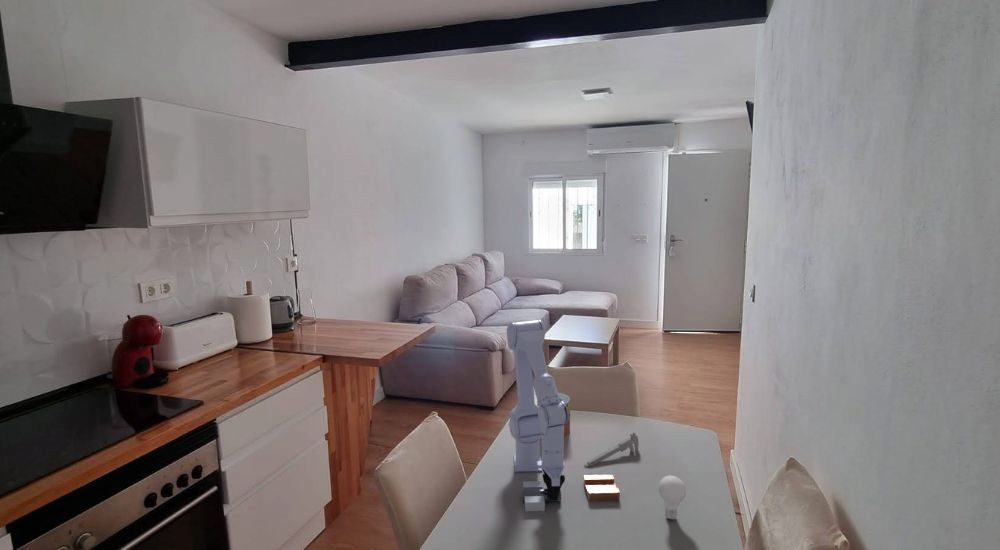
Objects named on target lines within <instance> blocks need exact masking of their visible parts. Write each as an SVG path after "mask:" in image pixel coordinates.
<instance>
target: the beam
mask: <svg viewBox="0 0 1000 550" xmlns="http://www.w3.org/2000/svg"><path fill="white" fill-rule="evenodd" d="M522 483H523V484H522V485H523V486H522V487H523V489H543V482H542V481H541V480H539V481H538V480H537V481H534V480H533V481H523V482H522ZM545 507H546V501H545V500H544V496H525V502H524V511H525V512H545V511H546V508H545Z"/></svg>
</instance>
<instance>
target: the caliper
mask: <svg viewBox="0 0 1000 550" xmlns="http://www.w3.org/2000/svg"><path fill="white" fill-rule="evenodd" d="M629 436H630V437H627V438H626V439H623V440H622V441H620V442H619V443H618V444H617V445H616V446H614V447H611V448H610V449H608V450H606V451H604V452H603V453H601V454H598V455H596V456H594V457H593V458H591V459H589V460H588V461H586V463H585V464H584V465H583V467H584V468H589V467H593V466H594V465H597V464H598V463H600V462H602V461H604V460H606V459H608V458H609V457H611V456H613V455H615V454H617V453H619V452H621V453H623V452H624V451H626V450H627V449H628V448H629V450H630V451H631V452H632V453H634V452H635V451H638V450H639V442H640V441H639V437H638V435H637V434H636V433H635V432H634V431H633V432H632V434H631V433H630V435H629Z"/></svg>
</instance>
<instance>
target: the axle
mask: <svg viewBox="0 0 1000 550" xmlns="http://www.w3.org/2000/svg"><path fill="white" fill-rule="evenodd" d="M521 491H522V492H521V493H522V494H521V495H522V502H523V503H525V496H544V500H545V502H561V501H562V491H561V489H560V492H559V496H558V499H557V500H549V496H548V490H547V488H542V489H522V490H521Z"/></svg>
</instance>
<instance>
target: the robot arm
mask: <svg viewBox="0 0 1000 550" xmlns="http://www.w3.org/2000/svg"><path fill="white" fill-rule="evenodd" d="M545 337H546V328H545V325H544V323H543V321H542V320H541V319H535V320H524V321H516V322H514V321H511V322H509V323H508V325H507V328H506V339H507V346H508V347H507V348H508V349H509V350H512V351H513V355H514V369H515V379H516V381H515V382H516V392H517V404H516V406H515V407H513V409H511V411H510V412H509V422H508V423H509V424H508V425H509V432H510V435H511V437H512V438H513V439H514V440H515V453H513V461H514V471H515V472H518V473H519V472H542V480H543V482H544V484H545V486H546V489H547V490H548V496H549V500H557V499H558V496H559V492H560V490H561V488H562V486H563V484H564V482H565V481H566V477H565V474H564V475H563V471H564V469H565V459H564V457H565V456H564V455H565V451H564V449H565V448H564V447H565V446H564V445H565V438H564V425H563V424H566V423H567V422H568V411H567V407H566V405H565V403H564V402H563V400H562V398H559V395H558V392H559V391H558V388H557V386H556V382H555V378H554V376H552V375H551V374H549V373H548V372H549V371H548V368H547V363H546V358H545V353H544V348H543V345H544V342H545ZM533 374H534V377H533ZM533 378H534V379H533ZM534 392H535V393H534ZM535 396H536V400H537V401H538V404H539V406H537V404H536V403H535ZM537 401H536V402H537ZM540 444H541V445H540ZM540 446H541V447H540Z"/></svg>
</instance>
